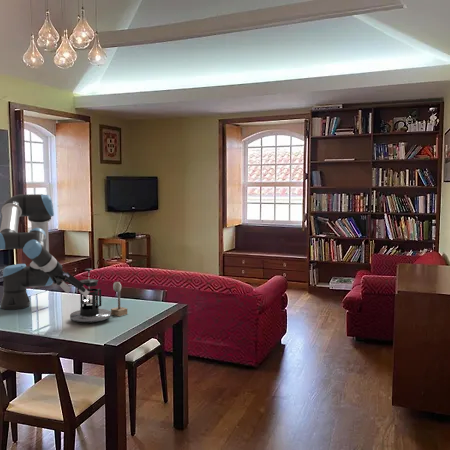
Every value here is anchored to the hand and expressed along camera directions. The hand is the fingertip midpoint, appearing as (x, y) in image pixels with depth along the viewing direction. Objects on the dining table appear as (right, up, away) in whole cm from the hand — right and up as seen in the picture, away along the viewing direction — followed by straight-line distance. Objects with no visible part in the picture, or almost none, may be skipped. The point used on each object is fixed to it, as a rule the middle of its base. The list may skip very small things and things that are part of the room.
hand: (78, 292), depth 231 cm
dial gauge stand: (+16, -14, +19) cm, 28 cm away
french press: (+4, -12, +7) cm, 14 cm away
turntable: (+4, -13, +7) cm, 15 cm away
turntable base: (+4, -15, +7) cm, 17 cm away
